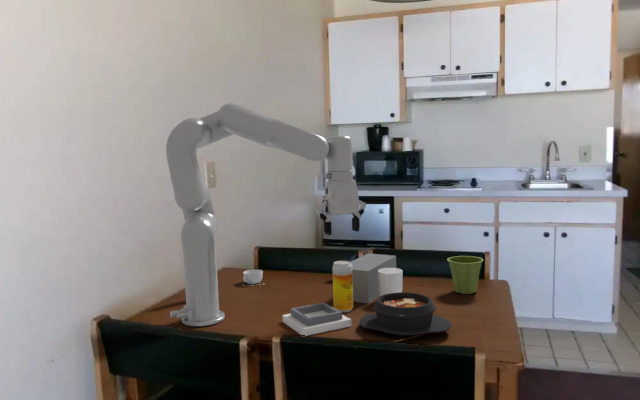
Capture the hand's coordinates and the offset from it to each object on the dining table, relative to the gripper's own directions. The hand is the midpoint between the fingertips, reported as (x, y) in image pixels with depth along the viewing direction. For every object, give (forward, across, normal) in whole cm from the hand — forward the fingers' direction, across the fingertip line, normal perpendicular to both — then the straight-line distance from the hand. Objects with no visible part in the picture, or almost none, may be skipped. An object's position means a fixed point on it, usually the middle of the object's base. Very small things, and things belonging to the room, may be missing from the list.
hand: (342, 232), depth 158 cm
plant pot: (+25, +45, -5) cm, 51 cm away
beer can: (+24, 0, 0) cm, 25 cm away
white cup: (+25, +18, 0) cm, 30 cm away
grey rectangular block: (+25, +14, +18) cm, 34 cm away
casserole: (+25, +5, -23) cm, 34 cm away
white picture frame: (+24, -13, -7) cm, 29 cm away
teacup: (+24, -13, +46) cm, 54 cm away
